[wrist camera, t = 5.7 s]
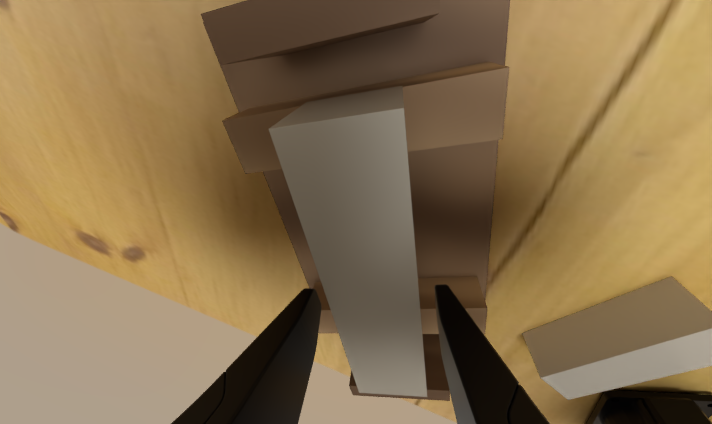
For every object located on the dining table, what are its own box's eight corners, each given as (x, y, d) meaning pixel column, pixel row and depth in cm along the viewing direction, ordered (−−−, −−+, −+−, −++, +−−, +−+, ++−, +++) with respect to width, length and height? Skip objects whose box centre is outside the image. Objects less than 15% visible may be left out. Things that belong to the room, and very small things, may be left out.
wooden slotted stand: (478, 319, 17) (503, 408, 13) (330, 320, 20) (312, 396, 15) (503, -56, 8) (611, -151, 4) (218, 23, 10) (97, 14, 6)
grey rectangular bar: (422, 333, 14) (427, 396, 12) (366, 332, 15) (359, 392, 12) (402, 85, 8) (404, 107, 5) (306, 102, 9) (268, 128, 6)
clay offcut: (568, 399, 16) (545, 351, 19) (750, 356, 12) (690, 302, 15) (540, 377, 15) (520, 330, 18) (726, 324, 11) (667, 272, 14)
